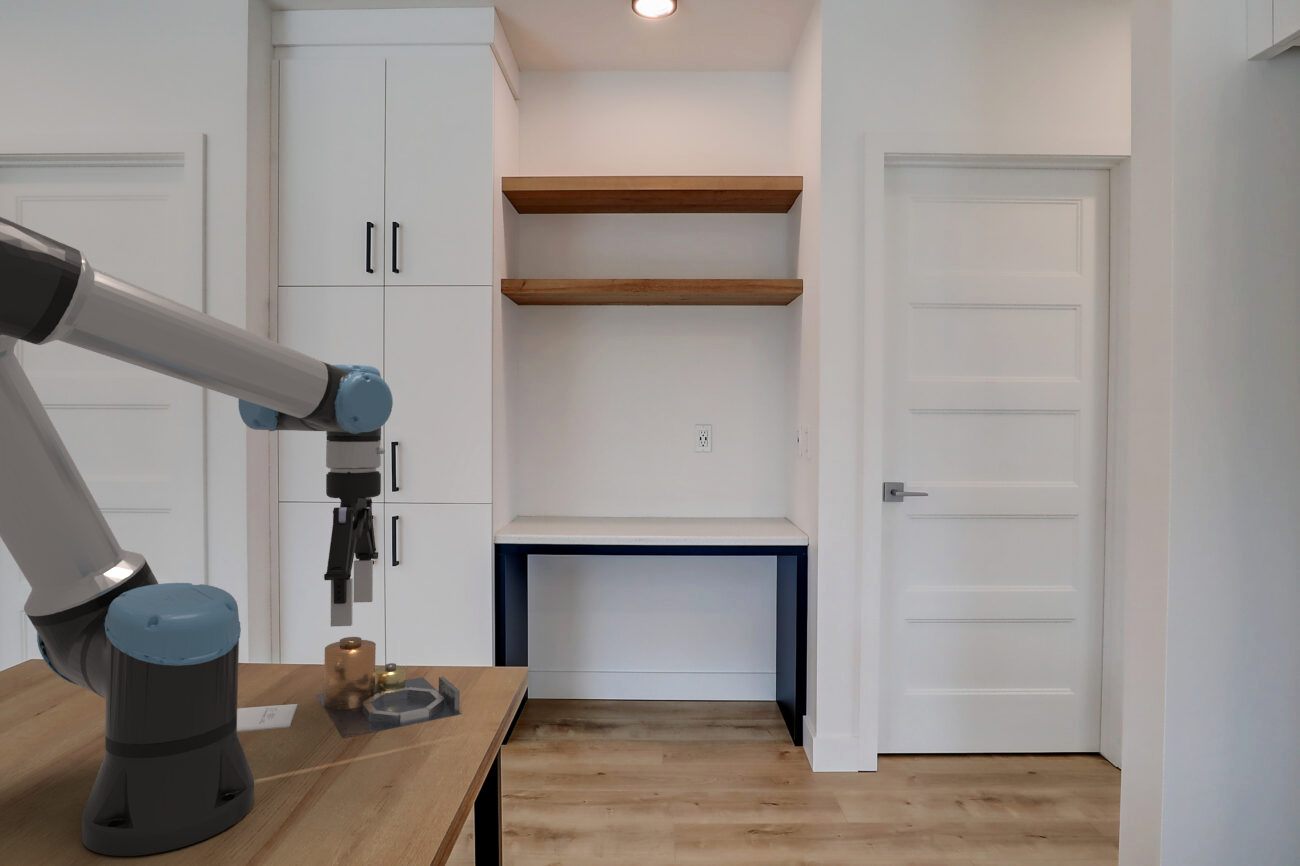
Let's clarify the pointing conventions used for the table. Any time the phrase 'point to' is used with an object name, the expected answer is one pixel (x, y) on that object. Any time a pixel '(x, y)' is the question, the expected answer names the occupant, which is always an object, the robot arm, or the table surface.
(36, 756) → the table surface
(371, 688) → the copper knobbed cylinder
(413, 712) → the plate
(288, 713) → the external hard drive
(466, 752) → the table surface
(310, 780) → the table surface
